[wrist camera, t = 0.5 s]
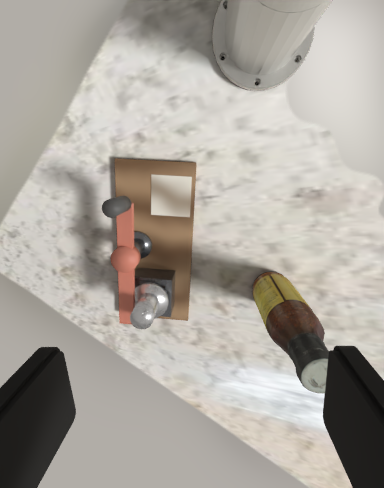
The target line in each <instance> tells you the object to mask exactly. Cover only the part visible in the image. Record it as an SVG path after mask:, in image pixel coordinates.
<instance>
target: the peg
mask: <svg viewBox="0 0 384 488" xmlns="http://www.w3.org/2000/svg"><path fill="white" fill-rule="evenodd" d="M168 304H169V297H168V294H167V292H166V291H165V286H160V285H158V284H156V283H152V282H146V283H142V284H140V285H138V286H137V287H136V288H135V307H134V309H133V311H132V313H131V315H130V321H131V323H132V325H133V326H134V327H136V328H138V329H146V328H148V327H150V326H151V324H152V322H153V319H154V318H158V317H160V316H162V315H163V314H164V313H165V311H166V310H167V307H168Z"/></svg>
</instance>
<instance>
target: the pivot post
mask: <svg viewBox="0 0 384 488" xmlns="http://www.w3.org/2000/svg"><path fill="white" fill-rule="evenodd" d="M134 246H135V247H136V248H137V249H138V250H139V252H140V255H141V259H142V258H145V257H146V256H148V255H149V253H150V252H151V250H152V242H151V239H150V238H149V236H148V235H146V234H145V233H143V232H139V231H136V232H134Z"/></svg>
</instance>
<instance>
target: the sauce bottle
mask: <svg viewBox="0 0 384 488" xmlns="http://www.w3.org/2000/svg"><path fill="white" fill-rule="evenodd" d="M253 297H254V300H255V302H256V305H257V307H258V309H259V312H260V314H261V317H262V319H263V322H264V324H265V326H266V329H267V331H268V333H269V335H270V337H271V338H272V340H273V341H274V342H275V343H276V344H277V345H278V346H280V347H281V348H282V349H283V350H284V351H285V352H286V353H287V354H288V355H289V356H290V358H291V359H292V360H293V362H294V365H295V367H296V373H297V376H298V378H299V380H300V381H301V383H302V385H303V386H304V387H305V388H306V389H308V390H309V391H312V392H315V393H325V387H326V376H327V366H328V355H329V351H328V350H327V348H326V347H325V344H324V342H323V339H324V334H325V333H324V329H323V327H322V325H321V323H320V321H319V319H318V318H317V317H316V316H315V314H314V313H313V311H312V309H311V308H310V307H309V305H308V304H307V303H306V302H305V300H304V299H303V298H302V297H301V295H300V294H299V293H298V291H297V290H296V289H295V288H294V286H293V285H292V284H291V282H290V281H289V280H288V279H287V278H285V277H284V276H283V275H282V274H279V273H276V272H266V273H263V274H262V275H260V276H259V277H258V278H257V279H256V280H255V282H254V284H253Z"/></svg>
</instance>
